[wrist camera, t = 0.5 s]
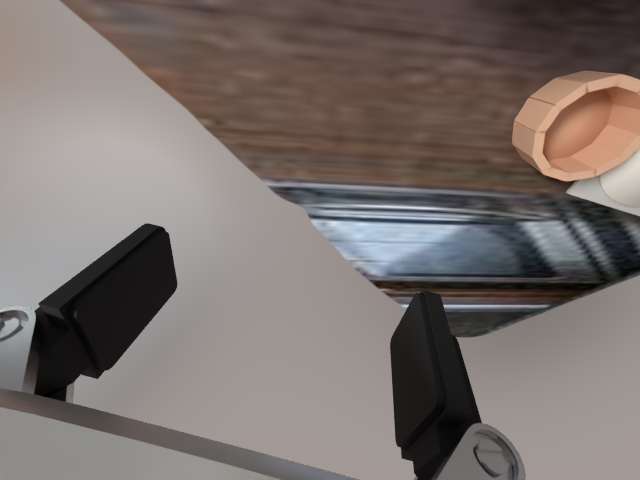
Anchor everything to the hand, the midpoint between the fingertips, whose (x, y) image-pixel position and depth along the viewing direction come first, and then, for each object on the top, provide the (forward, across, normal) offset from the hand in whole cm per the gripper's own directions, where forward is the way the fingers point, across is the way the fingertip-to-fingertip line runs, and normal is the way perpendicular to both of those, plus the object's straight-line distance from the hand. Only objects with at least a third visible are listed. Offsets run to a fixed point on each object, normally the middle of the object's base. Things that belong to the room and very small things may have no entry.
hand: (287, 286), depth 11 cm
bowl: (+35, -27, -5) cm, 44 cm away
